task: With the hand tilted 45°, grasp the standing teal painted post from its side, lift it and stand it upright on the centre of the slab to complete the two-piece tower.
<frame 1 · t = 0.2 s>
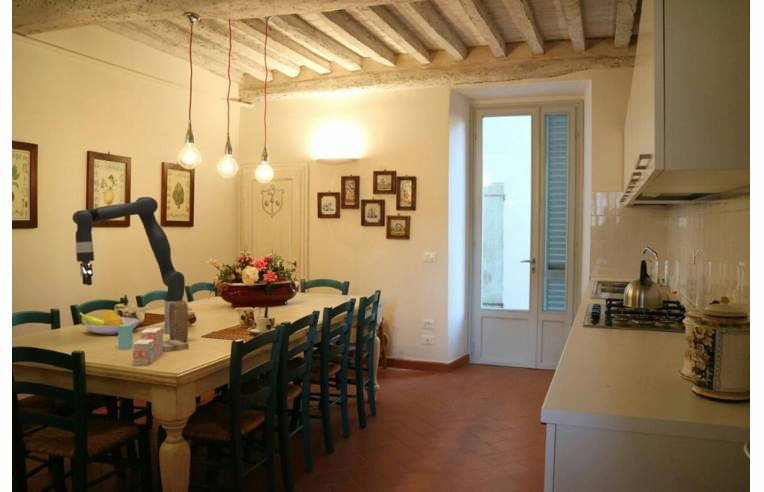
hand: (87, 284, 276), 29 cm above the table, tool pointing down, fingers open, 8 cm apart
post: (125, 348, 268), on the table
block: (177, 341, 287), on the table
stack of blocks: (148, 359, 248), on the table
slab: (170, 349, 270), on the table
fruit bowl: (110, 332, 305), on the table
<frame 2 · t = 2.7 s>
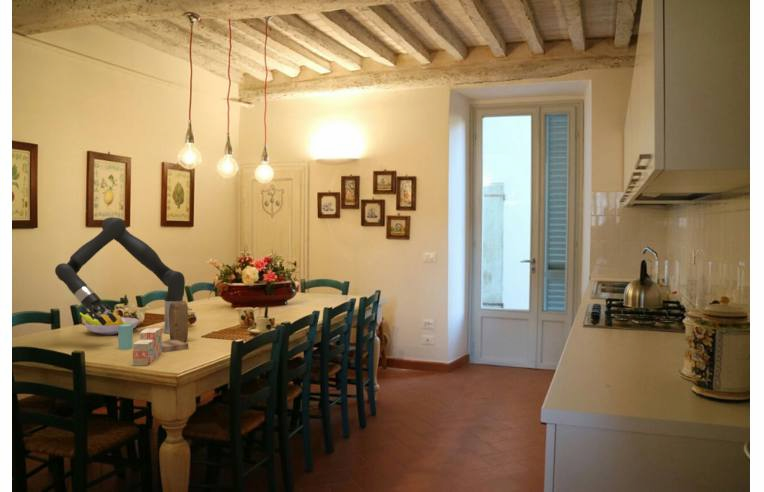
hand: (110, 322, 268), 12 cm above the table, tool tilted 45°, fingers open, 8 cm apart
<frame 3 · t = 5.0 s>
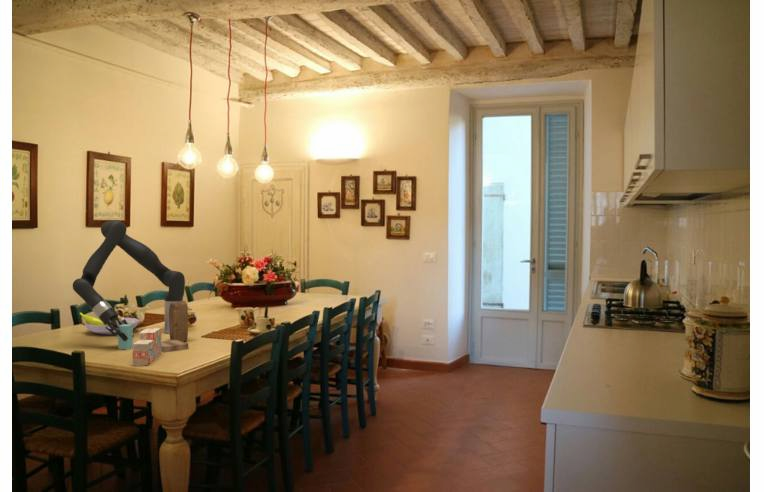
hand: (129, 338, 267), 5 cm above the table, tool tilted 45°, fingers closed on post, 4 cm apart
post: (125, 348, 268), on the table, touching gripper
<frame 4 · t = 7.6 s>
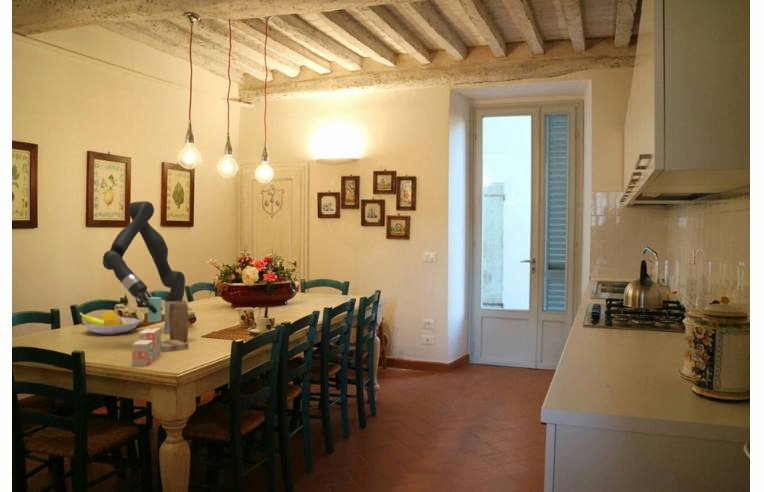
hand: (158, 311, 268), 18 cm above the table, tool tilted 45°, fingers closed on post, 4 cm apart
post: (154, 320, 269), point 13 cm above the table, touching gripper
when the fingers open (9 cm above the table, at t = 10.2 s): post drops 2 cm, resting on slab.
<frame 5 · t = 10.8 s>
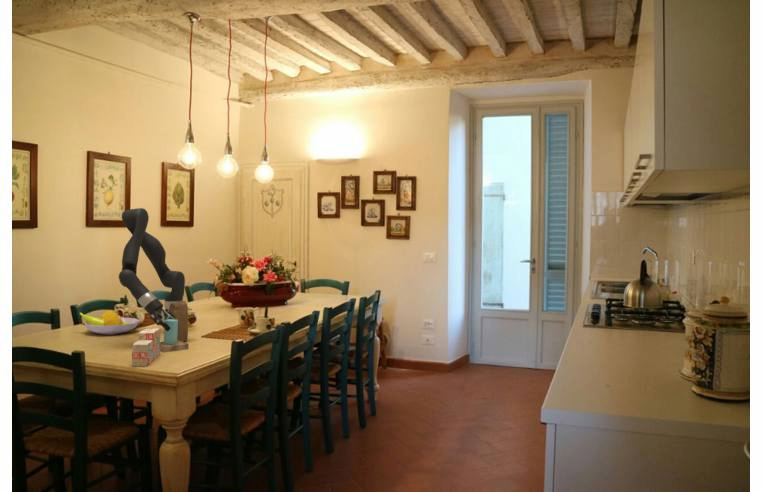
hand: (173, 328, 269), 10 cm above the table, tool tilted 45°, fingers open, 8 cm apart
post: (170, 343, 269), point 2 cm above the table, touching slab
slab: (170, 349, 270), on the table, touching post
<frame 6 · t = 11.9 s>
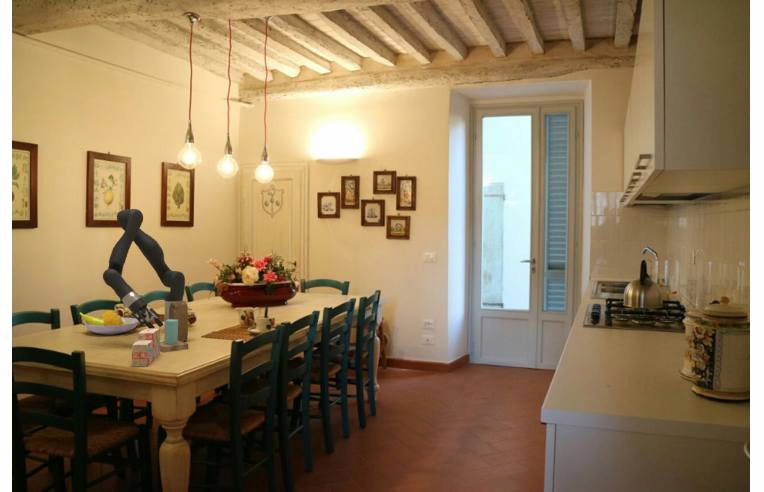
hand: (157, 327, 270), 10 cm above the table, tool tilted 45°, fingers open, 8 cm apart
post: (170, 343, 270), point 2 cm above the table
slab: (170, 349, 270), on the table
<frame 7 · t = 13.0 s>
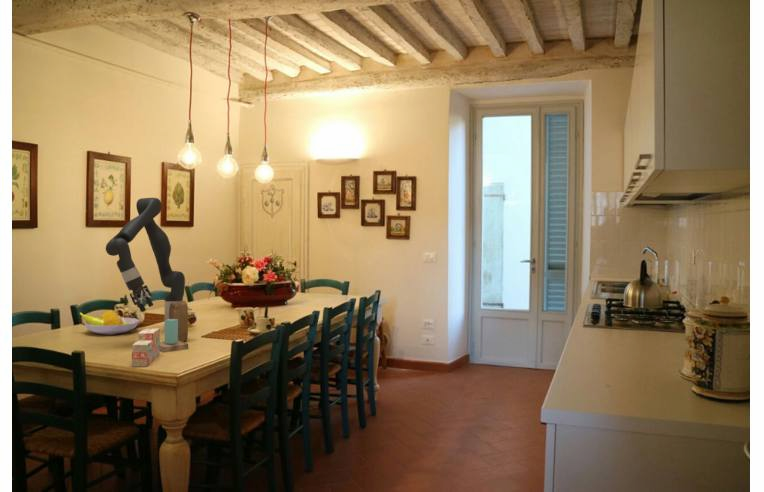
hand: (147, 308, 274), 18 cm above the table, tool tilted 25°, fingers open, 8 cm apart
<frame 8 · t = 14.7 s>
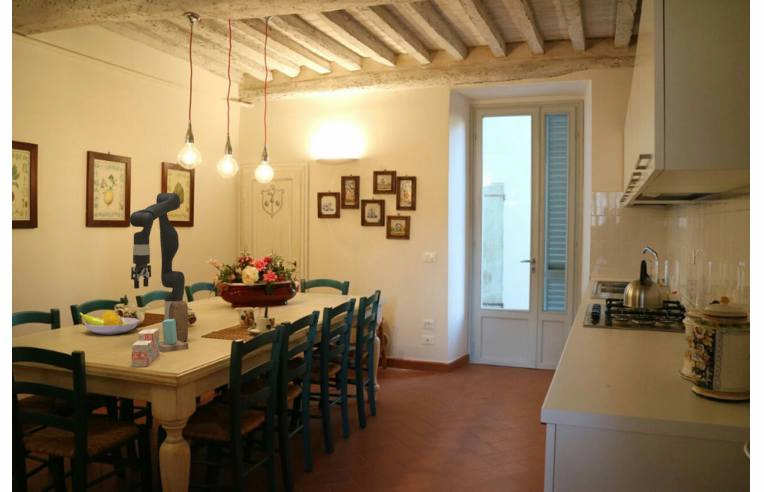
hand: (141, 287, 274), 28 cm above the table, tool pointing down, fingers open, 8 cm apart
post: (170, 343, 269), point 3 cm above the table, tilted 5°, touching slab
slab: (170, 349, 270), on the table, touching post
at the end: post inside the target area on the slab (0.3 cm from its centre), point 3.2 cm above the slab's base; post tilted 5°; the gripper is holding nothing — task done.
